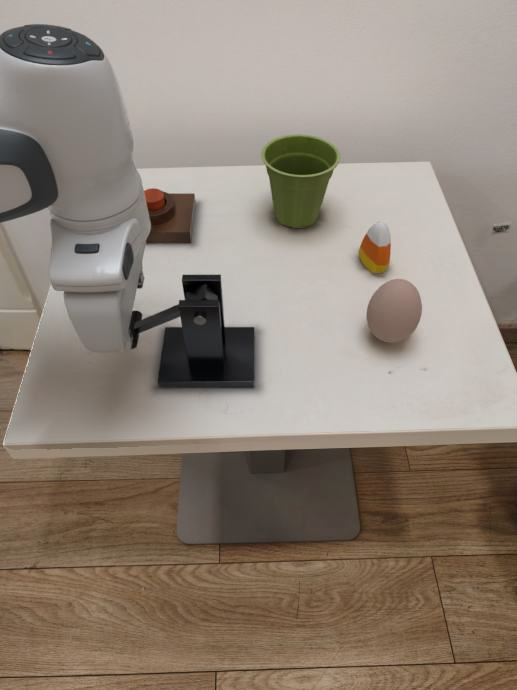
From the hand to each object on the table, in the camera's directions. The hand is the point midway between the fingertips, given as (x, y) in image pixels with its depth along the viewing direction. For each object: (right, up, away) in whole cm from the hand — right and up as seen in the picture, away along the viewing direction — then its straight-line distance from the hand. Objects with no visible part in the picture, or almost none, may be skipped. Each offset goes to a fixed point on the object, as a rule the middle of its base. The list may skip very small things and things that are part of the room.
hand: (131, 313), depth 61 cm
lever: (+5, -1, +1) cm, 5 cm away
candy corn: (+32, +8, +18) cm, 38 cm away
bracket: (+8, -6, +7) cm, 12 cm away
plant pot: (+21, +18, +26) cm, 38 cm away
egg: (+32, -3, +10) cm, 34 cm away
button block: (-2, +16, +24) cm, 29 cm away
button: (-2, +19, +21) cm, 29 cm away
